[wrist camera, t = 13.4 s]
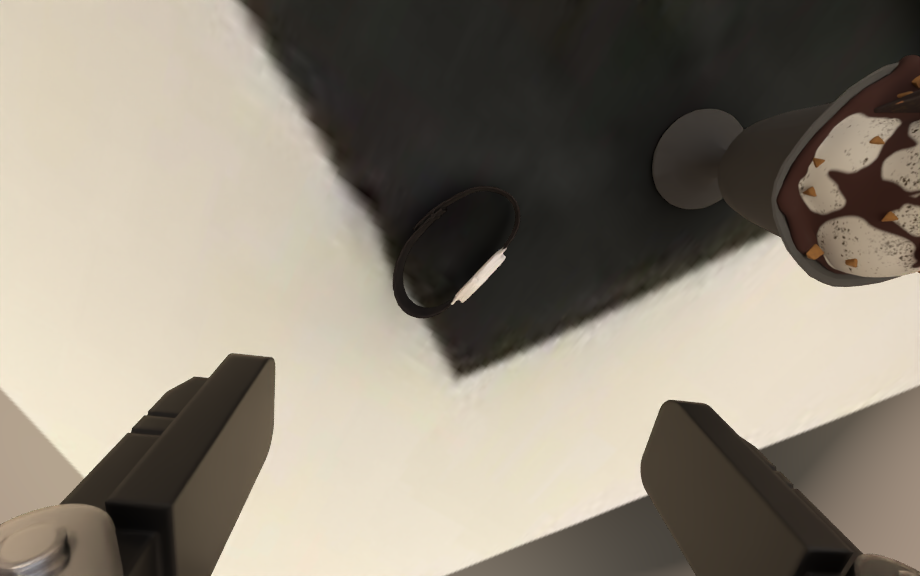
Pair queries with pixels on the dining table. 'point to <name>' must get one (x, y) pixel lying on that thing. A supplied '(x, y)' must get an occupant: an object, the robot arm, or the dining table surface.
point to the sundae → (814, 176)
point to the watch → (473, 282)
